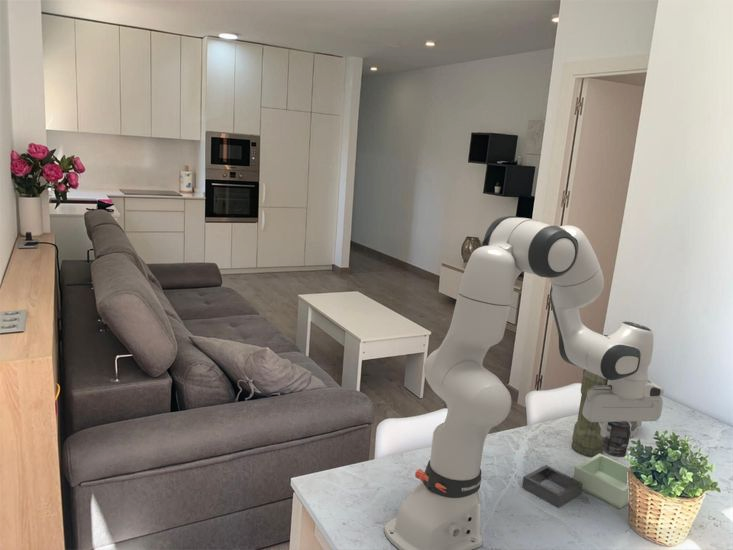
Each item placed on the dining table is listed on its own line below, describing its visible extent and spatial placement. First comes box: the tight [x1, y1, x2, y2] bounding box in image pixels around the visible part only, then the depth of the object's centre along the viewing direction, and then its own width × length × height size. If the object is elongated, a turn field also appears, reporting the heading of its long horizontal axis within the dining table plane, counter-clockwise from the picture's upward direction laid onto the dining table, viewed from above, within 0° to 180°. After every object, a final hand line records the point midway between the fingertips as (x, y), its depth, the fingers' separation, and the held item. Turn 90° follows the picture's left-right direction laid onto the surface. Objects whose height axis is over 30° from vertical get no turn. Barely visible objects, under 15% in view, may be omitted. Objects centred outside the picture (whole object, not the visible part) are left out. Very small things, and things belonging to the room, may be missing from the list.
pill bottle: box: [602, 421, 632, 458], centre depth 147 cm, size 6×6×11 cm
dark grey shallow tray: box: [521, 464, 583, 508], centre depth 147 cm, size 10×10×3 cm
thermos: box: [571, 334, 609, 458], centre depth 167 cm, size 9×12×35 cm
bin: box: [572, 453, 630, 510], centre depth 150 cm, size 13×13×5 cm
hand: (617, 435), depth 147 cm, fingers closed on pill bottle, 6 cm apart
